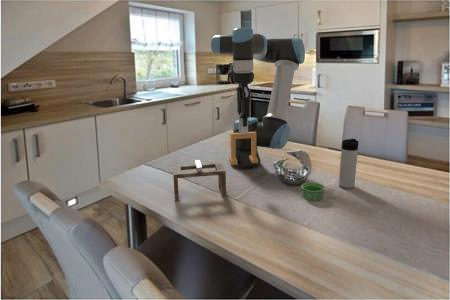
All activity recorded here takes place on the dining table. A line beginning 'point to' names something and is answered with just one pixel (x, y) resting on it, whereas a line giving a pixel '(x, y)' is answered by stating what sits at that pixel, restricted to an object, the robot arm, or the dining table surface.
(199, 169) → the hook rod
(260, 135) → the robot arm
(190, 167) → the brown frame with crossbar
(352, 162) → the travel mug
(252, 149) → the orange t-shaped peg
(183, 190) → the dining table surface
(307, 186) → the ramekin
